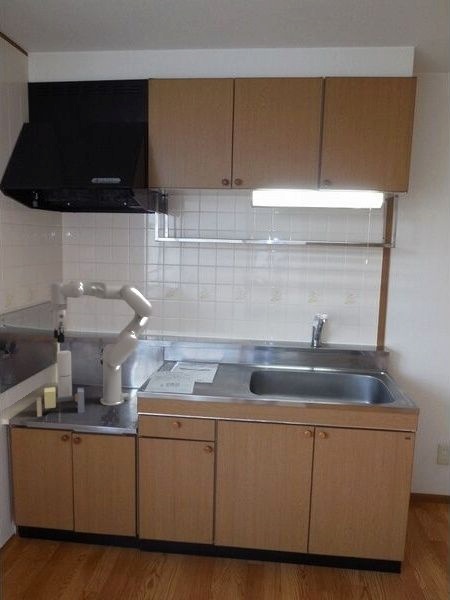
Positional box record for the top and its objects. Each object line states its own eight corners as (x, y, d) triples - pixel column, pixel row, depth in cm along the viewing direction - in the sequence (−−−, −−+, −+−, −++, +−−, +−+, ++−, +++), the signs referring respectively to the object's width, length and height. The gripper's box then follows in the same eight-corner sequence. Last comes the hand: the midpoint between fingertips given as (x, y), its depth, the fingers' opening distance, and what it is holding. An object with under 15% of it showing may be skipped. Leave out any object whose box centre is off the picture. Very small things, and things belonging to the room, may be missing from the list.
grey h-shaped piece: (83, 407, 231) (83, 387, 229) (84, 412, 226) (84, 391, 224) (37, 412, 224) (37, 391, 222) (37, 417, 218) (36, 395, 216)
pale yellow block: (55, 402, 226) (55, 387, 225) (55, 407, 220) (55, 391, 219) (45, 403, 224) (44, 388, 223) (44, 408, 219) (44, 392, 217)
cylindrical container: (67, 399, 242) (66, 354, 238) (55, 397, 243) (54, 353, 239) (74, 394, 248) (73, 351, 244) (62, 393, 250) (61, 350, 246)
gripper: (70, 309, 217) (70, 343, 220) (63, 303, 232) (63, 335, 235) (54, 310, 214) (54, 345, 216) (48, 304, 228) (48, 336, 231)
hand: (59, 340), depth 225 cm, fingers open, 9 cm apart
